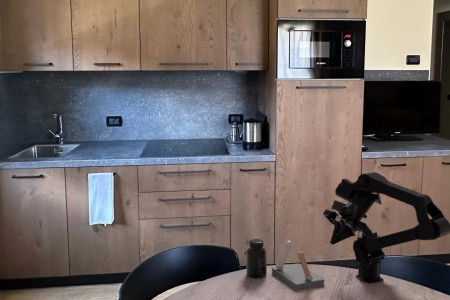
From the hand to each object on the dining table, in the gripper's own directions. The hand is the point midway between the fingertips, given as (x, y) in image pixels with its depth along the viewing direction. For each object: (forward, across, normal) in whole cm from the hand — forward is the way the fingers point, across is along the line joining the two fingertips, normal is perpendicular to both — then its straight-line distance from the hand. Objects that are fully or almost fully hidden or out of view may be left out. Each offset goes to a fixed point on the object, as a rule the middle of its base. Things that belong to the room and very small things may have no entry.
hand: (331, 243), depth 149 cm
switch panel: (+15, -7, +4) cm, 17 cm away
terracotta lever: (+13, -1, +2) cm, 13 cm away
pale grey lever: (+16, -12, 0) cm, 20 cm away
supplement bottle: (+23, -16, -3) cm, 28 cm away
